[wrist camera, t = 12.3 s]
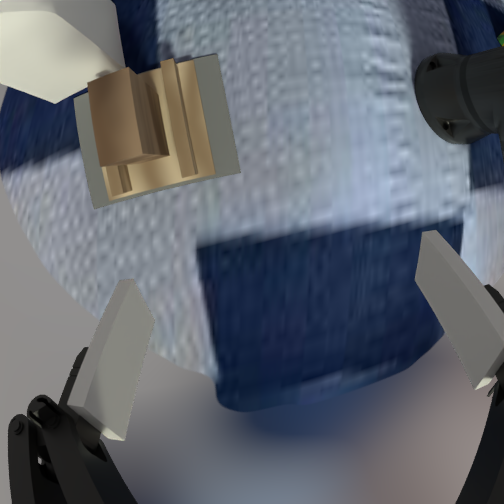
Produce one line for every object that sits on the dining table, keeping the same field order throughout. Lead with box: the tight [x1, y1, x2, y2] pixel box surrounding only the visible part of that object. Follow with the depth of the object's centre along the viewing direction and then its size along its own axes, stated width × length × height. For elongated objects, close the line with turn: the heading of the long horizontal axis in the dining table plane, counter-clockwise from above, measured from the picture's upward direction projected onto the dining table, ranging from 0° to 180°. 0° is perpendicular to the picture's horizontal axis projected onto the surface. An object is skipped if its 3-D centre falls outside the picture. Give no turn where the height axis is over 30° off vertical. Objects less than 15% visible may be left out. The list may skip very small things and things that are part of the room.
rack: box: [102, 58, 216, 201], centre depth 31 cm, size 14×15×4 cm
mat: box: [74, 54, 241, 209], centre depth 33 cm, size 20×16×1 cm
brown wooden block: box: [87, 67, 170, 167], centre depth 27 cm, size 4×8×12 cm, turn 11°
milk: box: [0, 0, 126, 103], centre depth 16 cm, size 12×12×26 cm
